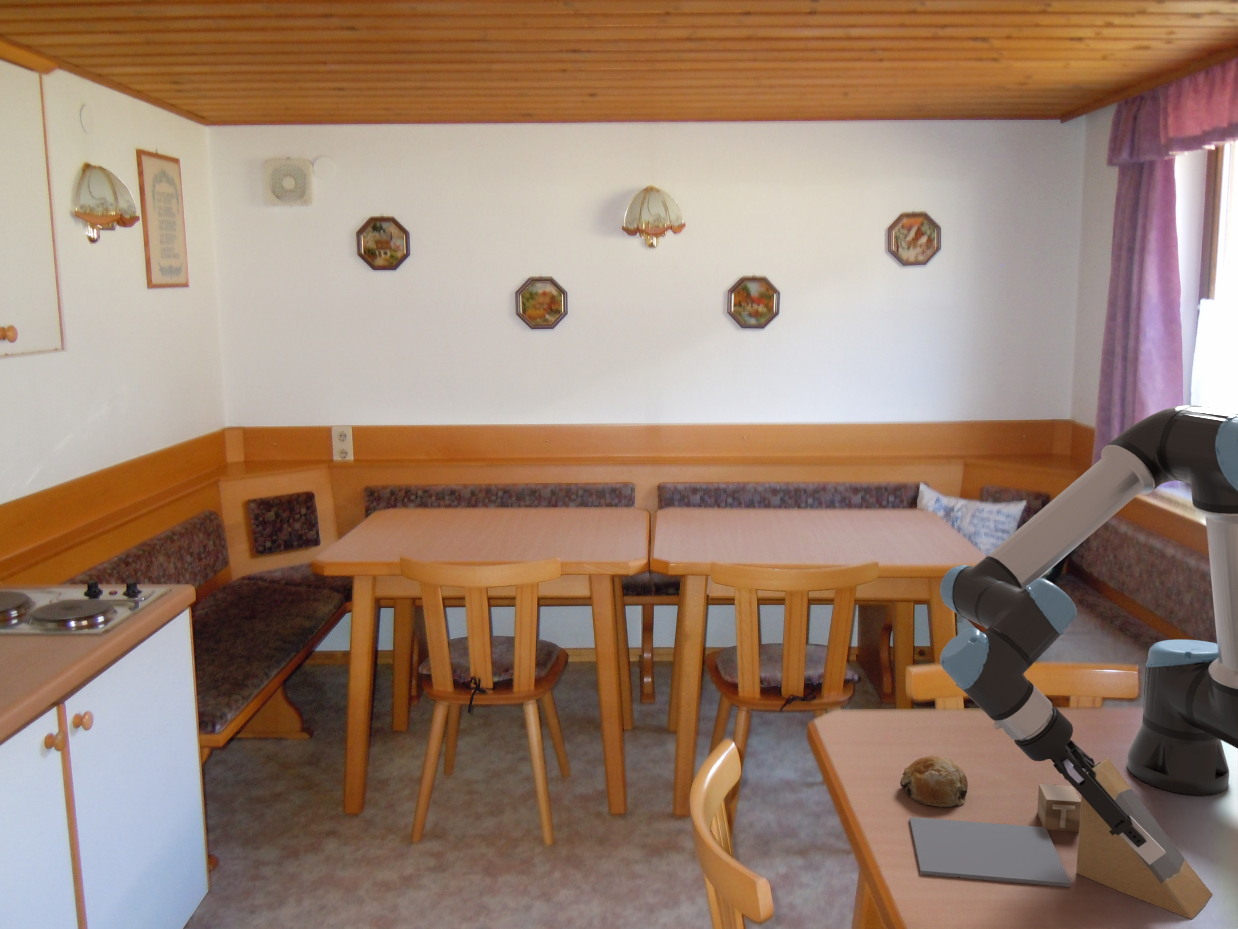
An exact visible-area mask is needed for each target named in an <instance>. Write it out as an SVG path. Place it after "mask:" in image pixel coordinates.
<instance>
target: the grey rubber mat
mask: <svg viewBox="0 0 1238 929" xmlns="http://www.w3.org/2000/svg"><path fill="white" fill-rule="evenodd" d="M909 824H910V829H911V834H912V839H913V842H914V847H915V848H914V849H915V853H916V859H917V863H918V868H919V873H920V875H922V876H923V875H925V876H935V877H947V878H957V877H960V878H959V879H969V880H970V879H972V880H982V879H983V880H985V881H996V882H1007V883H1018V884H1019V883H1020V884H1030V885H1041V886H1053V887H1055V886H1056V887H1064V888H1065V887H1067V888H1071V885H1072V884H1071V883H1072V882H1071V881H1070V878H1069V876H1068V874H1067V871H1066V870H1065V867H1064V865H1063V863H1062V860H1061V859H1060V856H1059V854H1058V852H1057V849H1056V847H1055V845H1054V842H1053V840H1052V838H1051V837H1050V834H1049V832H1048V830H1047V829H1046V827H1043V826H1034V825H1032V826H1031V825H1023V824H1020V825H1019V824H1009V823H1008V824H1007V823H993V822H982V821H981V822H980V821H969V820H956V819H955V820H954V819H941V818H929V817H915V816H914V817H913V816H910V817H909Z"/></svg>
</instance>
